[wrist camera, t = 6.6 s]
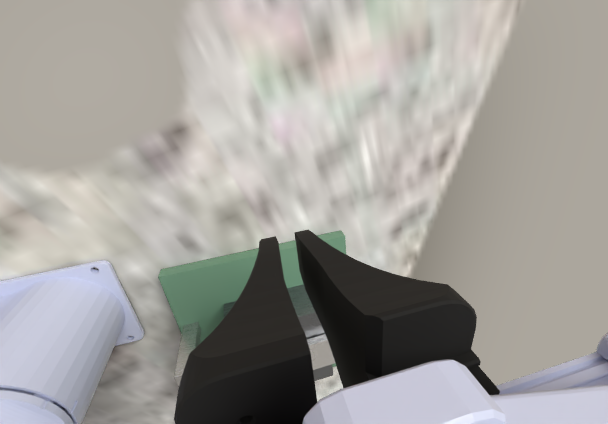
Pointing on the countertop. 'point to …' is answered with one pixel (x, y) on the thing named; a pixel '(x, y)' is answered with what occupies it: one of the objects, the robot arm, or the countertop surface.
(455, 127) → the countertop surface
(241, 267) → the board
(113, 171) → the countertop surface
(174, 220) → the countertop surface
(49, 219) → the countertop surface
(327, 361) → the retention strap
